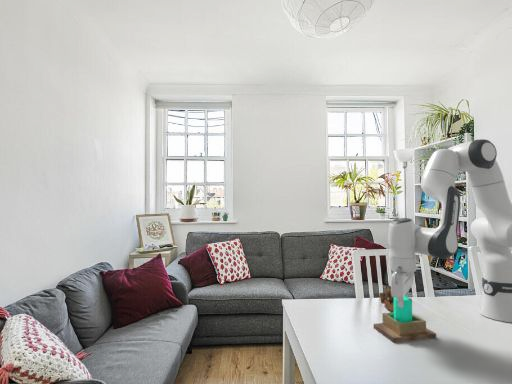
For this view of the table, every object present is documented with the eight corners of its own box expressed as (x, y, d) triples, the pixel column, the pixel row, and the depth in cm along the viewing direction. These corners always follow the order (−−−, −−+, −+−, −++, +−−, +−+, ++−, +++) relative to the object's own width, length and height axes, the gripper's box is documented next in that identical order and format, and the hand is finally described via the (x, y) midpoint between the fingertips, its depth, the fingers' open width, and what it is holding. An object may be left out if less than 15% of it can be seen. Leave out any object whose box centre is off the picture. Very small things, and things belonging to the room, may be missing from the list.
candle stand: (412, 324, 120) (412, 309, 120) (436, 338, 108) (435, 321, 108) (373, 328, 117) (373, 312, 117) (393, 342, 105) (392, 325, 105)
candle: (414, 332, 109) (413, 296, 109) (395, 330, 110) (395, 295, 111) (410, 325, 115) (410, 291, 115) (392, 323, 116) (392, 290, 116)
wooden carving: (375, 304, 142) (375, 282, 142) (385, 303, 143) (384, 281, 143) (399, 318, 126) (398, 292, 126) (409, 317, 127) (408, 291, 127)
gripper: (406, 271, 103) (407, 315, 102) (416, 260, 119) (417, 298, 119) (385, 269, 106) (386, 311, 106) (398, 259, 123) (399, 295, 123)
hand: (402, 304), depth 113 cm, fingers closed on candle, 5 cm apart
